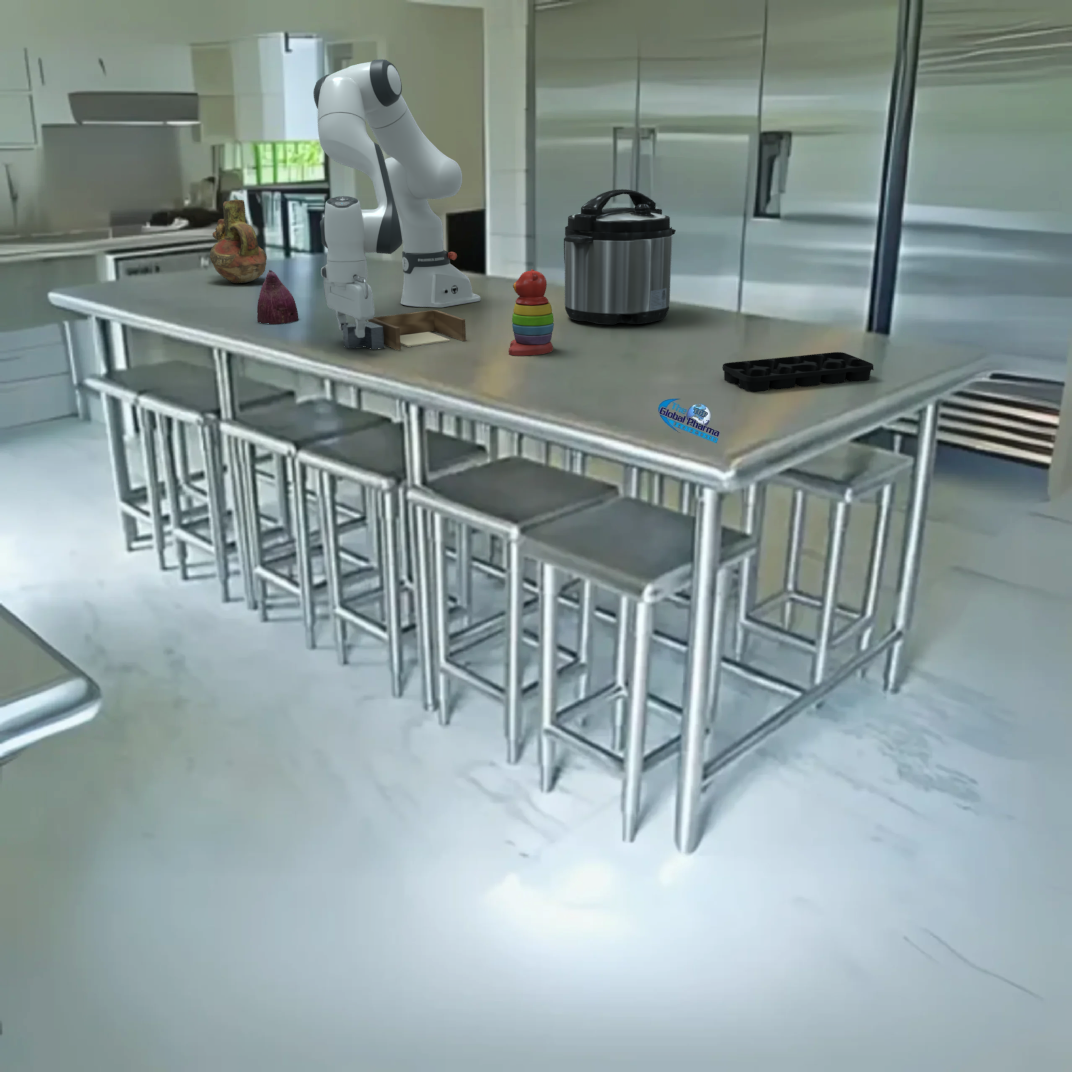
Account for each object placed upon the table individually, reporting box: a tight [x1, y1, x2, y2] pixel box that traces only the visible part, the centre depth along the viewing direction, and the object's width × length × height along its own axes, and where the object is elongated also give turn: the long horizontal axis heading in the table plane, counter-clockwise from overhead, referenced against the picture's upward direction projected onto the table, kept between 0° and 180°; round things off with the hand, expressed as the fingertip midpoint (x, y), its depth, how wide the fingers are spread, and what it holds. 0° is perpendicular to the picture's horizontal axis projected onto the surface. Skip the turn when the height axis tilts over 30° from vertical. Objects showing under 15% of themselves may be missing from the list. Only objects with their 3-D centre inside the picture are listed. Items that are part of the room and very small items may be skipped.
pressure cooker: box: [563, 188, 676, 325], centre depth 271 cm, size 30×28×32 cm
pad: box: [400, 332, 451, 348], centre depth 254 cm, size 11×11×1 cm
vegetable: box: [256, 269, 299, 325], centre depth 275 cm, size 10×10×15 cm
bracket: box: [342, 321, 385, 350], centre depth 247 cm, size 7×7×5 cm
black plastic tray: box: [721, 351, 875, 393], centre depth 215 cm, size 18×30×4 cm, turn 121°
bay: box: [367, 309, 467, 351], centre depth 254 cm, size 18×15×5 cm
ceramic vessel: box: [209, 199, 268, 284], centre depth 333 cm, size 17×26×25 cm, turn 43°
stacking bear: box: [508, 269, 555, 357], centre depth 239 cm, size 11×10×18 cm
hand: (351, 333), depth 247 cm, fingers open, 8 cm apart
